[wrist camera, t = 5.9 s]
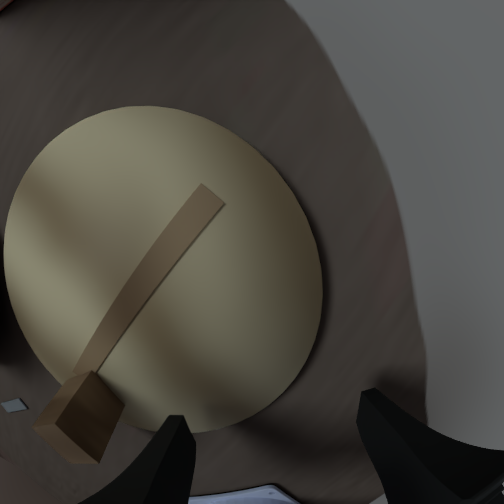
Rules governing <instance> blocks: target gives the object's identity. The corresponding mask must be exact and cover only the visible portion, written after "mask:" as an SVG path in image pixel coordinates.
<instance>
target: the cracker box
mask: <svg viewBox="0 0 504 504" xmlns="http://www.w3.org/2000/svg"><path fill="white" fill-rule="evenodd" d="M12 1H13V0H0V11H1V10H2V9H4V8H5V7H6V6H7V5H8V4H10V3H11V2H12Z"/></svg>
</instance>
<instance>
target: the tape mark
mask: <svg viewBox="0 0 504 504" xmlns="http://www.w3.org/2000/svg"><path fill="white" fill-rule="evenodd" d="M1 405H2V406H3V407H4V408H5V410H6V411H7V412H13V411H19V410H24V409H27V408H28V407H27V406H26V405H25V404H24V403H23V401H22V400H21V399H20V398H18V399H14V400H10V401H7V402H3V403H1Z"/></svg>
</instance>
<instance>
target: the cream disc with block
mask: <svg viewBox="0 0 504 504" xmlns="http://www.w3.org/2000/svg"><path fill="white" fill-rule="evenodd" d="M4 270H5V277H6V284H7V289H8V293H9V297H10V301H11V305H12V308H13V311H14V313H15V316H16V319H17V321H18V324H19V326H20V328H21V330H22V332H23V334H24V336H25V338H26V340H27V341H28V343H29V345H30V346H31V348H32V350H33V351H34V353H35V354H36V356H37V357H38V358H39V360H40V361H41V362H42V364H43V365H44V366H45V368H46V369H47V370H48V371H49V372H50V373H51V374H52V375H53V377H54V378H55V379H56V380H57V381H58V382H59V383H60V384H61V385H63V386H62V387H61V388H60V389H59V391H58V392H57V393H56V395H55V396H54V397H53V399H52V400H51V401H50V403H49V404H48V405H47V407H46V408H45V409H44V411H43V412H42V413H41V415H40V416H39V418H38V419H37V420H36V422H35V423H34V425H33V426H32V428H33V429H34V430H35V431H36V432H37V433H38V434H39V435H40V436H41V437H42V438H43V439H44V440H45V441H46V442H47V443H48V444H49V445H50V446H51V447H52V448H53V449H54V450H55V451H56V452H58V453H59V454H60V455H61V456H62V457H63V458H64V459H66V460H67V461H68V462H69V463H72V464H99V463H100V460H101V458H102V456H103V453H104V451H105V449H106V447H107V444H108V442H109V440H110V438H111V435H112V433H113V431H114V429H115V427H116V424H117V422H118V421H119V422H122V423H125V424H128V425H131V426H134V427H137V428H141V429H146V430H150V431H156V432H157V431H158V430H159V428H160V427H161V425H162V424H163V423H164V421H165V420H166V418H167V417H168V416H169V415H184V417H185V420H186V422H187V424H188V427H189V429H190V431H191V433H198V432H206V431H211V430H216V429H220V428H224V427H227V426H230V425H233V424H235V423H238V422H240V421H242V420H244V419H246V418H249V417H251V416H253V415H254V414H256V413H257V412H259V411H260V410H262V409H264V408H265V407H267V406H268V405H269V404H271V403H272V402H273V401H274V400H275V399H276V398H277V397H279V396H280V395H281V394H282V393H283V392H284V391H285V390H286V388H287V387H288V386H289V385H290V384H291V383H292V381H293V380H294V379H295V378H296V376H297V375H298V373H299V372H300V370H301V368H302V367H303V365H304V364H305V362H306V360H307V358H308V356H309V353H310V351H311V349H312V346H313V344H314V342H315V338H316V334H317V331H318V327H319V323H320V318H321V309H322V298H323V289H322V271H321V265H320V260H319V256H318V251H317V246H316V242H315V240H314V237H313V234H312V231H311V229H310V226H309V223H308V221H307V218H306V216H305V214H304V212H303V210H302V208H301V207H300V205H299V203H298V201H297V199H296V197H295V196H294V194H293V192H292V191H291V189H290V188H289V187H288V185H287V184H286V183H285V181H284V180H283V179H282V177H281V176H280V175H279V173H278V172H277V171H276V170H275V168H274V167H273V166H272V165H271V164H270V163H269V162H268V161H267V160H266V159H265V158H264V157H263V156H262V155H261V154H260V153H259V152H257V151H256V150H255V149H254V148H253V147H252V146H251V145H249V144H248V143H247V142H245V141H244V140H242V139H241V138H240V137H238V136H237V135H235V134H234V133H232V132H231V131H230V130H228V129H226V128H224V127H222V126H220V125H218V124H216V123H214V122H212V121H210V120H208V119H206V118H204V117H201V116H197V115H194V114H191V113H188V112H185V111H181V110H178V109H171V108H164V107H157V106H133V107H123V108H118V109H113V110H109V111H104V112H101V113H99V114H96V115H94V116H91V117H88V118H86V119H83V120H82V121H80V122H78V123H76V124H75V125H73V126H71V127H70V128H68V129H66V130H65V131H63V132H62V133H61V134H60V135H58V136H57V137H56V138H55V139H54V140H52V141H51V142H50V143H49V144H48V145H47V146H46V147H45V148H44V149H43V150H42V151H41V153H40V154H39V155H38V156H37V157H36V158H35V160H34V161H33V162H32V164H31V165H30V167H29V168H28V170H27V171H26V173H25V174H24V176H23V178H22V180H21V182H20V184H19V186H18V188H17V190H16V193H15V195H14V198H13V201H12V204H11V207H10V210H9V214H8V219H7V224H6V229H5V238H4Z"/></svg>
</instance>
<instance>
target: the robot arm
mask: <svg viewBox="0 0 504 504" xmlns="http://www.w3.org/2000/svg"><path fill="white" fill-rule="evenodd" d="M356 423H357V426H358V430H359V433H360V436H361V439H362V442H363V444H364V446H365V448H366V450H367V452H368V454H369V457H370V459H371V461H372V463H373V465H374V467H375V469H376V471H377V473H378V475H379V477H380V480H381V482H382V485H383V488H384V491H385V494H386V498H387V501H388V504H504V495H503V494H502V491H503V490H504V487H503V485H502V483H503V482H504V451H503V450H493V449H486V448H481V447H477V446H473V445H469V444H466V443H463V442H460V441H457V440H454V439H452V438H449V437H447V436H445V435H442V434H441V433H439V432H436V431H435V430H433V429H431V428H429V427H428V426H426V425H424V424H423V423H421V422H420V421H418V420H417V419H415V418H414V417H412V416H411V415H409V414H408V413H407V412H405V411H404V410H402V409H401V408H400V407H398V406H397V405H396V404H395V403H393V402H392V401H391V400H390V399H388V398H387V397H386V396H385V395H383V394H382V393H381V392H380V391H379V390H377V389H376V388H372V389H368V390H365V391H361V397H360V403H359V409H358V415H357V420H356ZM195 460H196V442H195V440H194V437H193V435H192V433H191V431H190V429H189V427H188V424H187V422H186V420H185V417H184V415H169V416H168V417H167V418H166V420H165V421H164V423H163V424H162V425H161V427H160V428H159V430H158V431H157V432H156V434H155V435H154V437H153V438H152V439H151V441H150V442H149V443H148V444H147V446H146V447H145V448H144V449H143V451H142V452H141V453H140V454H139V455H138V457H137V458H136V459H135V460H134V461H133V462H132V463H131V464H130V465H129V466H128V467H127V468H126V469H125V470H124V471H123V472H122V473H121V474H120V475H119V476H118V477H117V478H116V479H114V480H113V481H112V482H111V483H109V484H108V485H107V486H105V487H104V488H103V489H101V490H100V491H99V492H97V493H95V494H94V495H92V496H90V497H89V498H87V499H85V500H83V501H82V502H80V503H78V504H300V503H299V502H297V501H296V500H294V499H293V498H291V497H290V496H288V495H287V494H285V493H284V492H283V491H281V490H280V489H278V488H277V487H276V486H274V485H266V486H261V487H257V488H252V489H247V490H242V491H236V492H230V493H223V494H216V495H208V496H197V497H189V496H190V490H191V485H192V479H193V474H194V468H195Z"/></svg>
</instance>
